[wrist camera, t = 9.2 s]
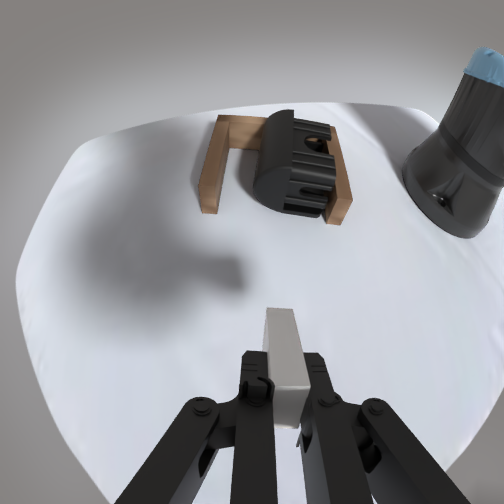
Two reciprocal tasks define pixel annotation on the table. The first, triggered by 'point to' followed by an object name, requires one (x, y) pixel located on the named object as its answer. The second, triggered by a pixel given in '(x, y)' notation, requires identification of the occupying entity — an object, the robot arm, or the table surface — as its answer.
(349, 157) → the table surface
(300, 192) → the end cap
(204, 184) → the corral
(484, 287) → the table surface
